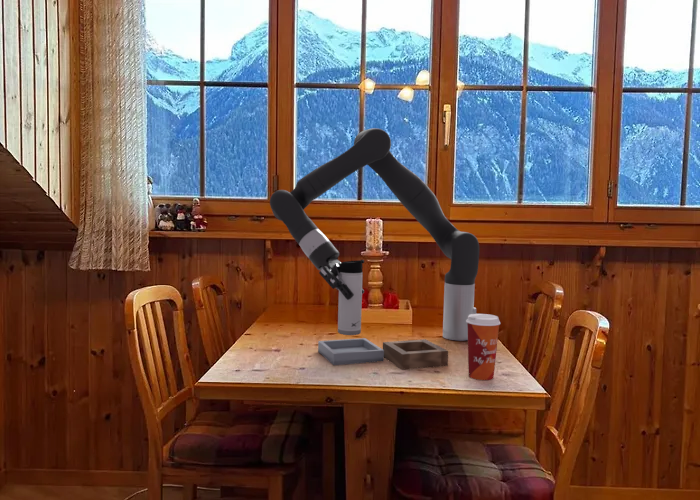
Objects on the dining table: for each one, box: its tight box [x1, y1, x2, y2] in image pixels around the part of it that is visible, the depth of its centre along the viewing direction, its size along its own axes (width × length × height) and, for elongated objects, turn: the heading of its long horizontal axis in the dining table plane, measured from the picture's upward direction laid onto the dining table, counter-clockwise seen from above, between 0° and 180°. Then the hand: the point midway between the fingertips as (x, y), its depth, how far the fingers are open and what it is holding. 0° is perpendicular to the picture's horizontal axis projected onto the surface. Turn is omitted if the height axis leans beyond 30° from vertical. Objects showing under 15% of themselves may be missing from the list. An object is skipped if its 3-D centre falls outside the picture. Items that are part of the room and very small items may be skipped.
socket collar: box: [382, 339, 449, 371], centre depth 159 cm, size 13×13×4 cm
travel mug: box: [337, 259, 365, 336], centre depth 161 cm, size 6×7×20 cm
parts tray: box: [317, 337, 385, 366], centre depth 162 cm, size 14×14×3 cm
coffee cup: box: [466, 313, 501, 381], centre depth 146 cm, size 8×8×15 cm
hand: (356, 295), depth 160 cm, fingers closed on travel mug, 6 cm apart
